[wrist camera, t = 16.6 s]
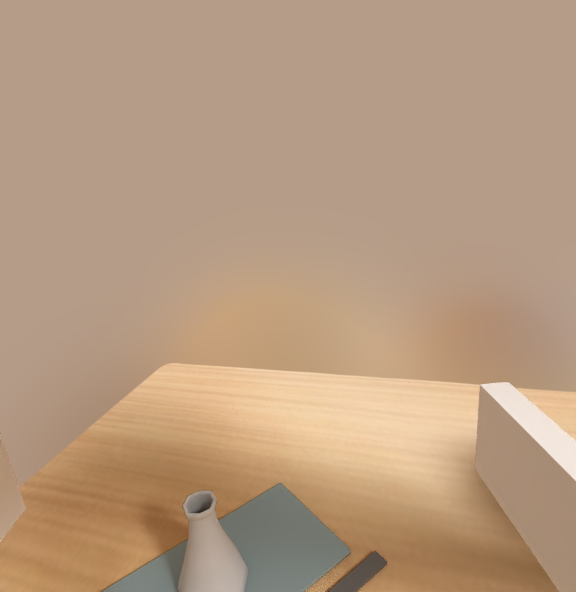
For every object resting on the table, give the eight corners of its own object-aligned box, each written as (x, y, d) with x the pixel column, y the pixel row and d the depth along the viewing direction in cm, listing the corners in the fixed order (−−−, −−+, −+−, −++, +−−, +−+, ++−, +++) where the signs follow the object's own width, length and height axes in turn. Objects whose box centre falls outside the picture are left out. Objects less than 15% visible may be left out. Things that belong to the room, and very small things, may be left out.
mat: (280, 485, 52) (280, 482, 52) (350, 553, 42) (350, 549, 42) (64, 618, 38) (63, 615, 38) (90, 769, 28) (88, 765, 28)
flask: (175, 628, 36) (155, 544, 33) (179, 558, 43) (163, 483, 40) (253, 607, 37) (241, 523, 34) (245, 542, 44) (234, 468, 41)
